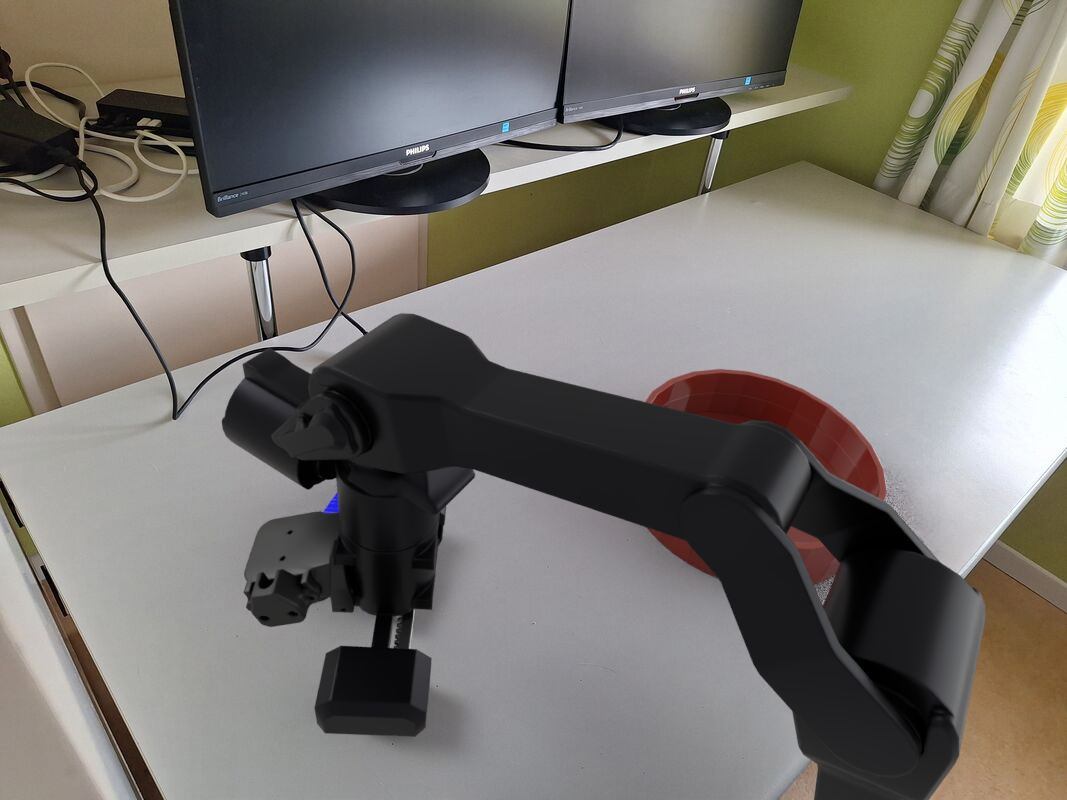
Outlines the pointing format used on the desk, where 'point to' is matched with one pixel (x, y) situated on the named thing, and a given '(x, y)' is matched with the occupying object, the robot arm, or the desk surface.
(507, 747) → the desk surface
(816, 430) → the red round bowl
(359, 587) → the robot arm
